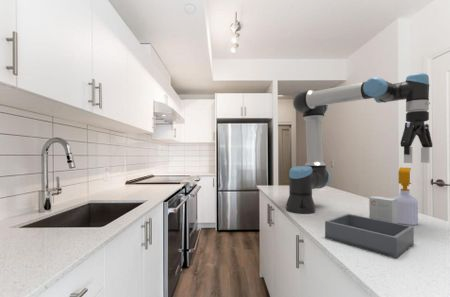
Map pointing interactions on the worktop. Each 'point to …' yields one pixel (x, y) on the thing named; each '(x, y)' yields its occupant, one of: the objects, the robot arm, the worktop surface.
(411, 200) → the soap bottle
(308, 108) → the robot arm
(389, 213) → the small box
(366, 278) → the worktop surface
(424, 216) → the worktop surface
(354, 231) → the charcoal bin
